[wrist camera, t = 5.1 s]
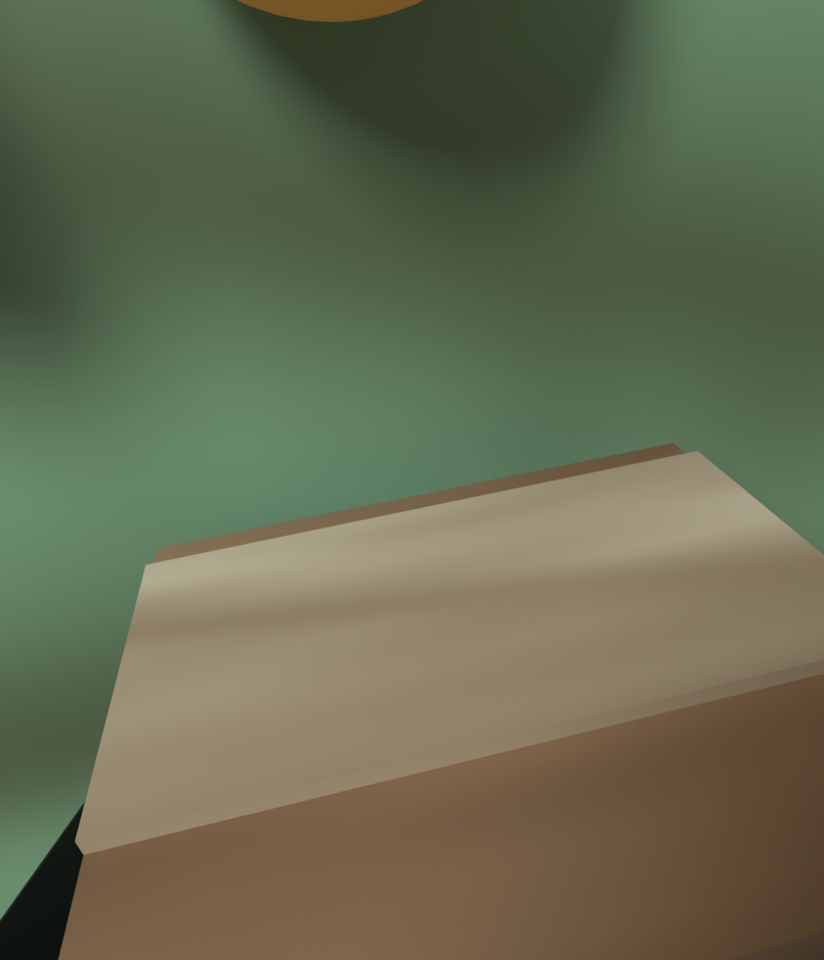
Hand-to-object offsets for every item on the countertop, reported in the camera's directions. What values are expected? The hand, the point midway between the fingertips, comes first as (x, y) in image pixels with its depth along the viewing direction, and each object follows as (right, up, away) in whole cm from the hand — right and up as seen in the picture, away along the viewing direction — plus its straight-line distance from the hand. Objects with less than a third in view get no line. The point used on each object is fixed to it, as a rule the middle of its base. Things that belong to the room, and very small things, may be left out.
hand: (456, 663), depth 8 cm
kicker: (0, 0, +1) cm, 1 cm away
